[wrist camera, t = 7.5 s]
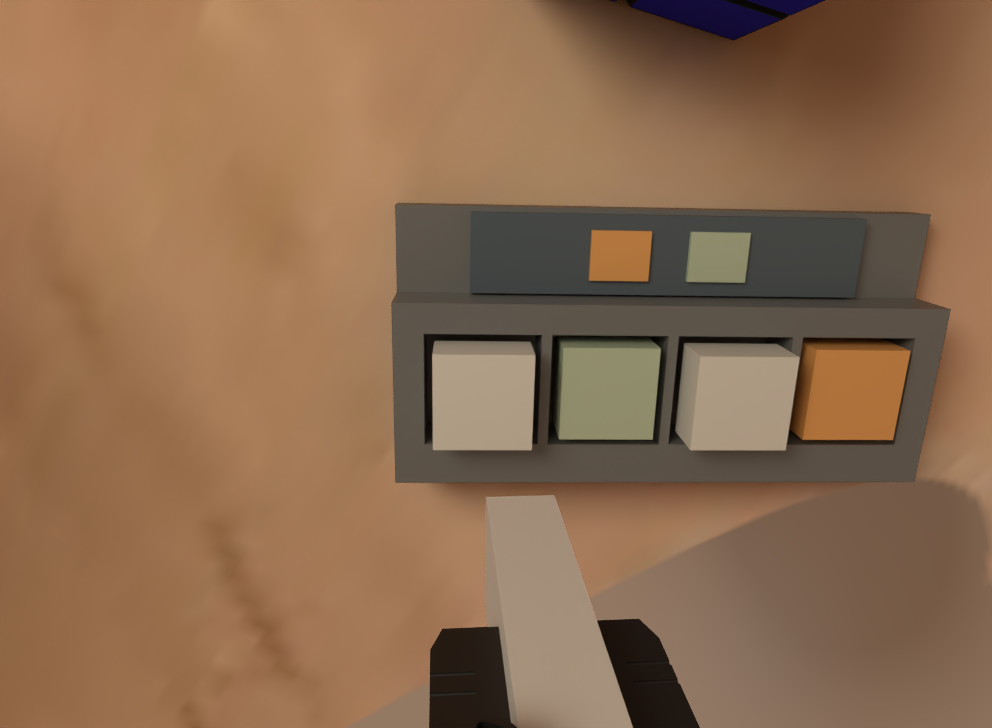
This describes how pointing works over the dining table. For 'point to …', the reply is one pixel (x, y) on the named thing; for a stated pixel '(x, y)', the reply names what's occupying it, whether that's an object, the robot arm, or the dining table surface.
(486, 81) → the dining table surface
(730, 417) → the key grey mid
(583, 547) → the dining table surface
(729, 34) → the puzzle cube
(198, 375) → the dining table surface
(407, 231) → the keypad
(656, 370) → the key sage
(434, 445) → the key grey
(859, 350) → the key orange
